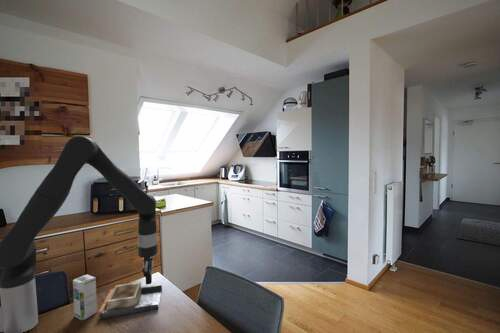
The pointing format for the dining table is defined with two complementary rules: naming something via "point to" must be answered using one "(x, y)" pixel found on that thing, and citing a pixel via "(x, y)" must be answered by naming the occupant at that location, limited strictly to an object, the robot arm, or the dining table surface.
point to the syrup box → (84, 296)
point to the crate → (124, 296)
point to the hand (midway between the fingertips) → (148, 283)
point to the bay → (145, 304)
